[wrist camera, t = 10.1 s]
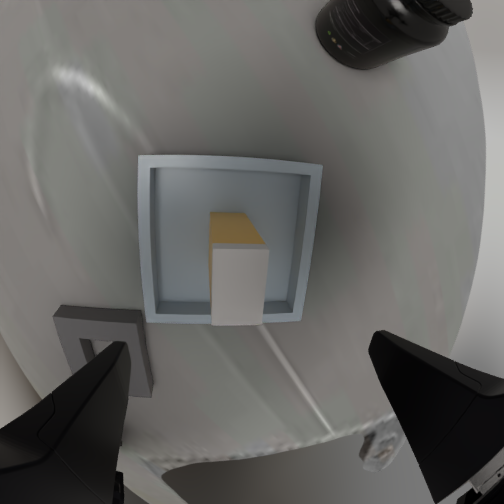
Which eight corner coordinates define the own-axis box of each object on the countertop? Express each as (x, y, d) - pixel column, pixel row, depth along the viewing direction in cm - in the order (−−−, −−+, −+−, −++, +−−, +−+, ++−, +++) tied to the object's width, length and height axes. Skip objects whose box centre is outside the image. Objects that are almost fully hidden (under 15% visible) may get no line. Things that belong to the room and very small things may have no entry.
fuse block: (153, 383, 25) (151, 397, 23) (84, 376, 23) (79, 389, 22) (140, 310, 22) (136, 323, 20) (61, 305, 20) (52, 316, 19)
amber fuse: (241, 265, 21) (261, 324, 14) (208, 264, 21) (211, 325, 13) (244, 213, 20) (269, 249, 13) (209, 211, 20) (213, 248, 12)
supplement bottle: (351, -2, 15) (433, -59, 4) (395, 56, 18) (496, 28, 6) (295, 18, 16) (370, -63, 5) (346, 83, 18) (457, 47, 7)
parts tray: (292, 305, 24) (300, 320, 22) (151, 305, 22) (146, 322, 20) (309, 163, 20) (322, 164, 18) (146, 155, 18) (138, 155, 16)
